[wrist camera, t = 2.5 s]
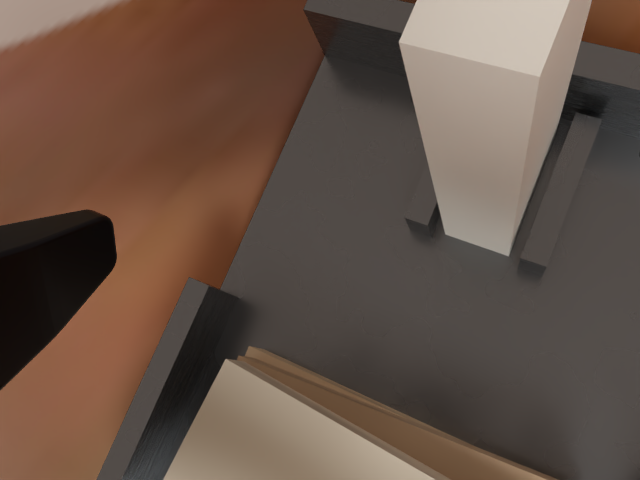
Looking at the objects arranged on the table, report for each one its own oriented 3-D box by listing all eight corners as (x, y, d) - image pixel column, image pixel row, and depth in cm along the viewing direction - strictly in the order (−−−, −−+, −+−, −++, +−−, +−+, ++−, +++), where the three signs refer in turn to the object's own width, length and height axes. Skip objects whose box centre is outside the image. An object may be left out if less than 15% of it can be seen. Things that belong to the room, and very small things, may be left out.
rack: (577, 799, 17) (604, 913, 13) (129, 520, 22) (56, 546, 18) (787, 159, 19) (858, 102, 16) (341, 45, 25) (315, -18, 21)
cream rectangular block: (508, 256, 20) (540, 76, 9) (445, 234, 21) (398, 41, 9) (555, 135, 21) (640, -180, 9) (492, 117, 21) (500, -194, 10)
